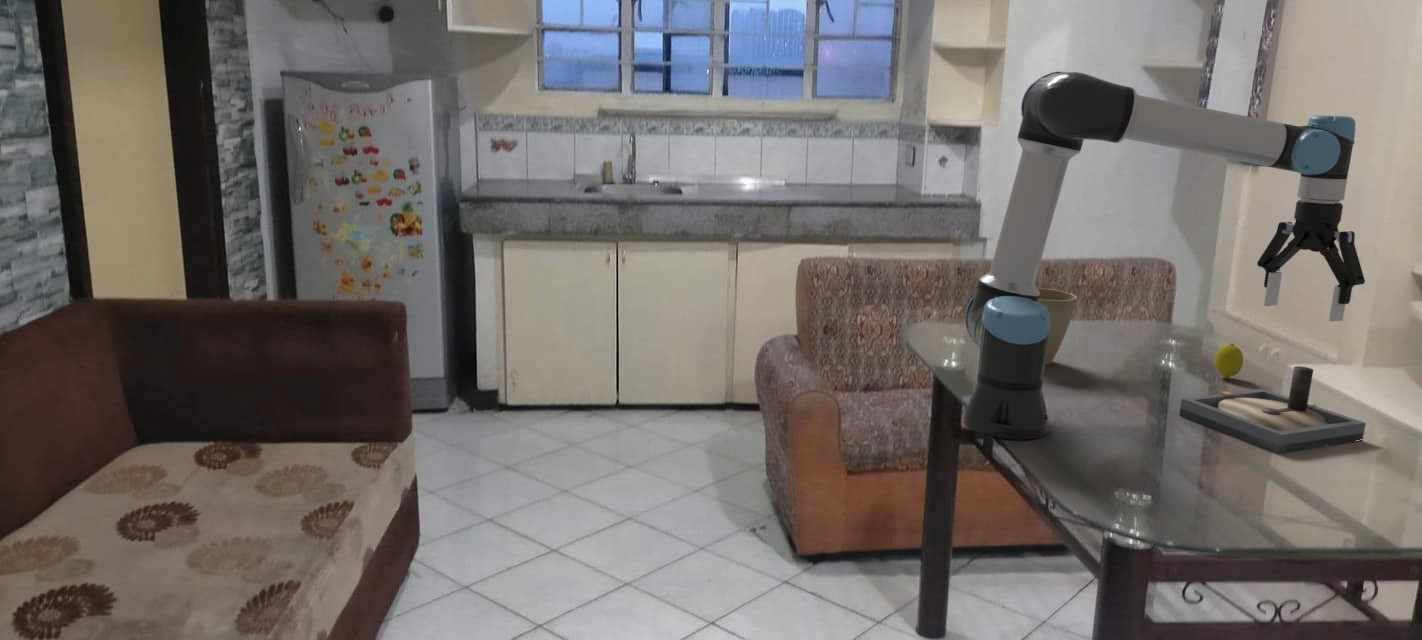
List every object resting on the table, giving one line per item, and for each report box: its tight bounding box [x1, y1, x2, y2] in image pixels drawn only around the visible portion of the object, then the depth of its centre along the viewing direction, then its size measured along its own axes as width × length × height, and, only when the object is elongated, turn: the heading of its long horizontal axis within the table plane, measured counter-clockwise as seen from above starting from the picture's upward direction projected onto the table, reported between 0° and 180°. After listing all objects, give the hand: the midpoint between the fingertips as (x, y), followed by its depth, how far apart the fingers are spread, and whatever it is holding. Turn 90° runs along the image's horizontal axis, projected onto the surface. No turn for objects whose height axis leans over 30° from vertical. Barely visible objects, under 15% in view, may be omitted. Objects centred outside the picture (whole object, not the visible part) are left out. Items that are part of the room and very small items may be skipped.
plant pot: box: [1037, 287, 1078, 366], centre depth 238 cm, size 15×15×16 cm
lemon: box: [1214, 343, 1244, 379], centre depth 231 cm, size 6×6×8 cm
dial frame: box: [1178, 388, 1367, 455], centre depth 198 cm, size 22×22×4 cm
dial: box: [1218, 365, 1325, 431], centre depth 197 cm, size 18×18×10 cm
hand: (1302, 312), depth 198 cm, fingers open, 13 cm apart
